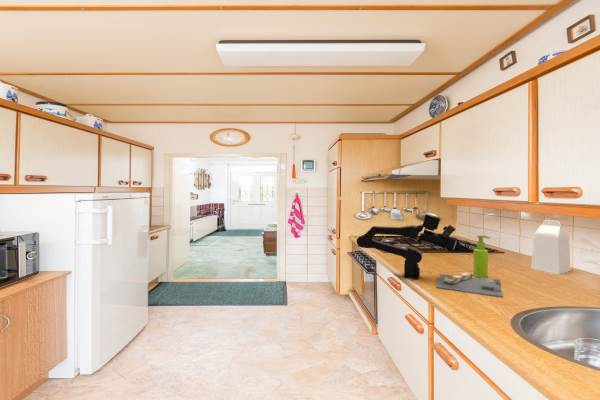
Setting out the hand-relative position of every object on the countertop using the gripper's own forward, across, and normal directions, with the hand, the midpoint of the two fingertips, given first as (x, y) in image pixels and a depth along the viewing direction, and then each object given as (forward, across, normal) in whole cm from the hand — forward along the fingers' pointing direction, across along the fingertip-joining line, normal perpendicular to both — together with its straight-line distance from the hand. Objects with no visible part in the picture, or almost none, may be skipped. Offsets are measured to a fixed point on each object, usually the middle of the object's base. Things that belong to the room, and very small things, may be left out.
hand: (469, 250), depth 131 cm
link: (0, +2, +15) cm, 15 cm away
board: (+4, 0, +15) cm, 15 cm away
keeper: (+11, -4, +13) cm, 18 cm away
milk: (+43, +41, -3) cm, 59 cm away
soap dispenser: (+10, +16, +10) cm, 22 cm away
